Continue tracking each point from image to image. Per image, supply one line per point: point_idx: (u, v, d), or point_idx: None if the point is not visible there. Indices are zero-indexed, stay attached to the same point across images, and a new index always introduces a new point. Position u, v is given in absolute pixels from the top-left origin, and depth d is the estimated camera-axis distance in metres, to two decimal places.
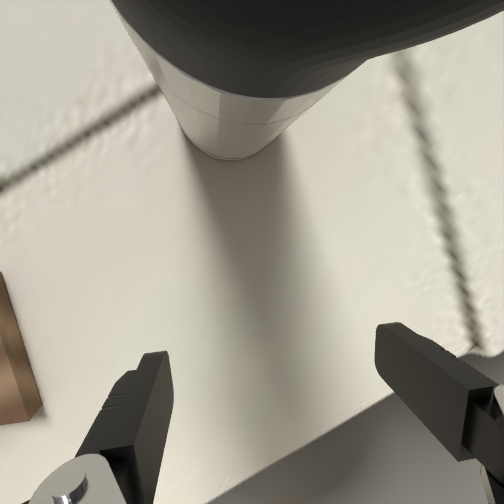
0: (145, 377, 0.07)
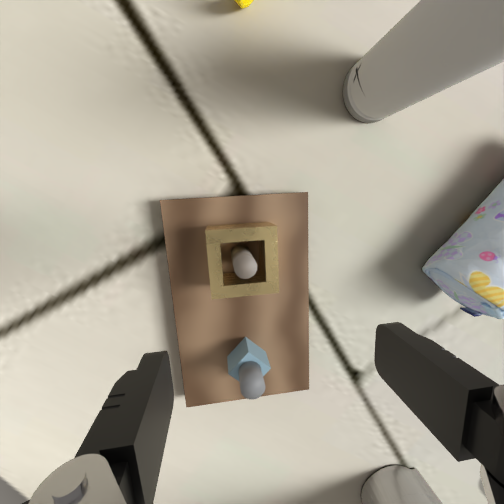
0: (145, 377, 0.07)
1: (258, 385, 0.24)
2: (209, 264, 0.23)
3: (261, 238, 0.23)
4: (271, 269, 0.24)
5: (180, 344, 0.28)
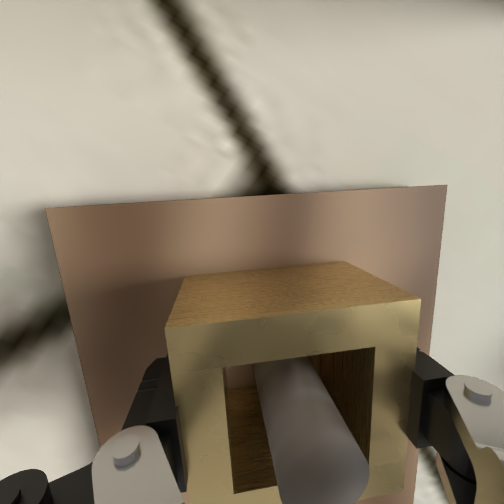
0: None
1: None
2: (184, 437, 0.06)
3: (365, 343, 0.07)
4: (386, 431, 0.07)
5: None
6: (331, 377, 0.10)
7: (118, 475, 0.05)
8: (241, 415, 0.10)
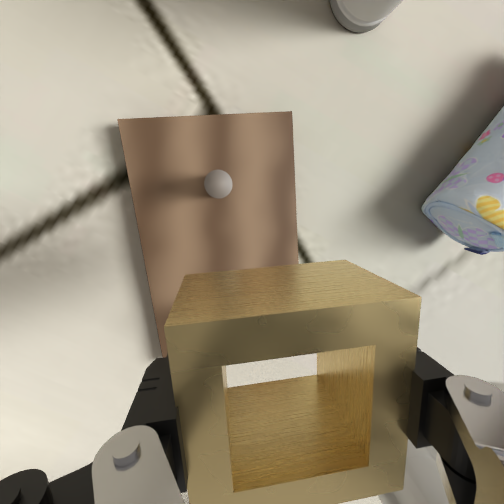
0: None
1: None
2: (184, 435, 0.06)
3: (366, 341, 0.07)
4: (386, 429, 0.07)
5: (153, 295, 0.25)
6: (331, 376, 0.10)
7: (118, 475, 0.05)
8: (241, 414, 0.10)
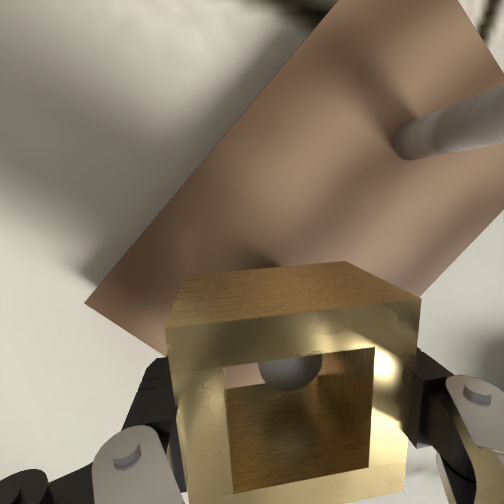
0: None
1: (305, 365, 0.09)
2: (184, 437, 0.06)
3: (365, 342, 0.07)
4: (386, 431, 0.07)
5: (188, 185, 0.13)
6: (331, 377, 0.10)
7: (118, 475, 0.05)
8: (241, 415, 0.10)
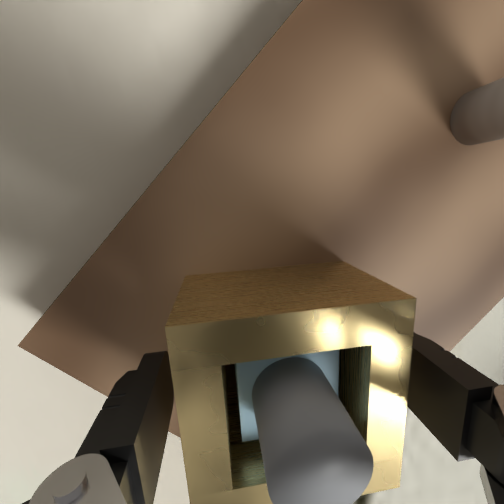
0: (145, 377, 0.07)
1: (345, 479, 0.06)
2: (184, 433, 0.07)
3: (362, 341, 0.07)
4: (382, 427, 0.07)
5: (163, 179, 0.09)
6: None
7: None
8: None
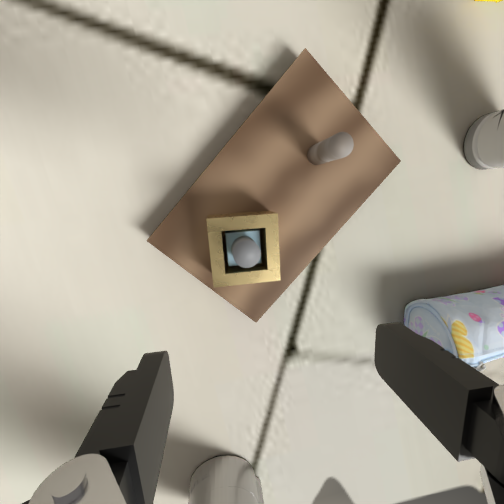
0: (145, 377, 0.07)
1: (253, 256, 0.22)
2: (211, 252, 0.23)
3: (262, 226, 0.23)
4: (272, 256, 0.24)
5: (200, 179, 0.25)
6: (262, 252, 0.26)
7: None
8: (228, 266, 0.26)
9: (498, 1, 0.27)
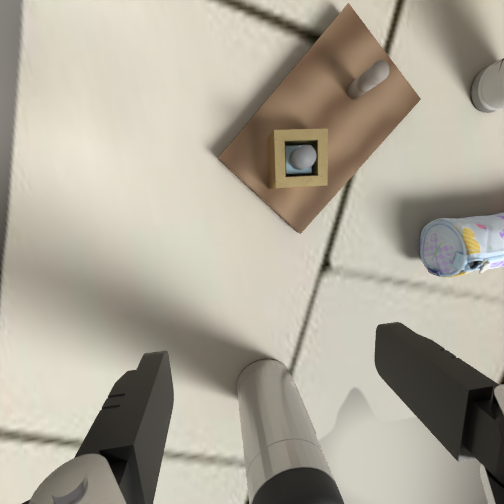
0: (145, 377, 0.07)
1: (310, 158, 0.29)
2: (275, 158, 0.29)
3: (315, 138, 0.30)
4: (321, 164, 0.30)
5: (263, 107, 0.32)
6: None
7: None
8: None
9: None
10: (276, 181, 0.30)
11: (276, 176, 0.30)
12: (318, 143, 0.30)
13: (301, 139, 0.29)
